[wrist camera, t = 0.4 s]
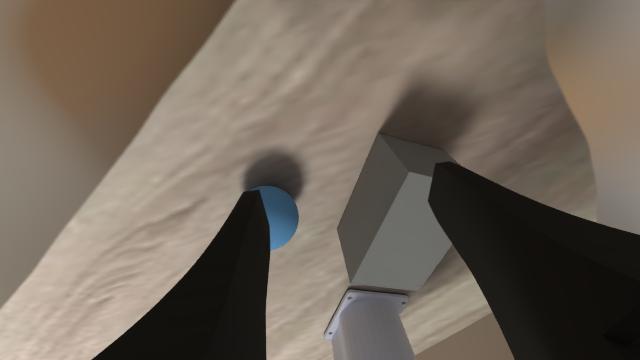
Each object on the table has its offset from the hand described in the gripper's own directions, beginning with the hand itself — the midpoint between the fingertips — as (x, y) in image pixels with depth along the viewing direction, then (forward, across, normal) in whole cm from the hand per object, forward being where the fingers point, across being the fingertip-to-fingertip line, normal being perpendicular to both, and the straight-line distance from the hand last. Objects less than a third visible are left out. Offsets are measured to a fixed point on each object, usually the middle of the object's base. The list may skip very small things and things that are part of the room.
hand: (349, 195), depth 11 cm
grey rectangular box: (+10, -5, +8) cm, 14 cm away
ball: (+7, +5, +7) cm, 11 cm away
